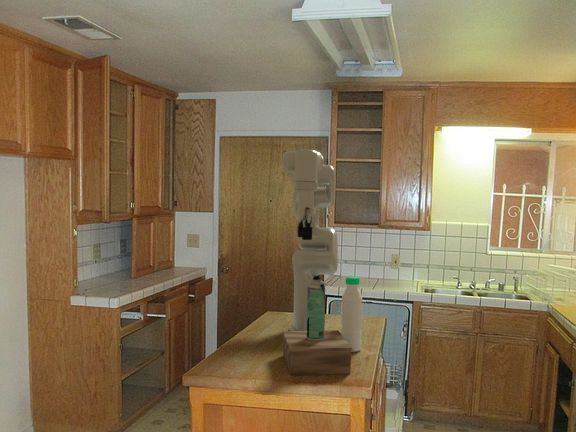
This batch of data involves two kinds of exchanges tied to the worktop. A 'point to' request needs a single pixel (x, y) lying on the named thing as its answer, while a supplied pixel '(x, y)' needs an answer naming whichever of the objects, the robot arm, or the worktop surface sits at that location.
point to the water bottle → (352, 314)
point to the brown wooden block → (316, 353)
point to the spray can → (316, 309)
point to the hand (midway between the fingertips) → (304, 238)
